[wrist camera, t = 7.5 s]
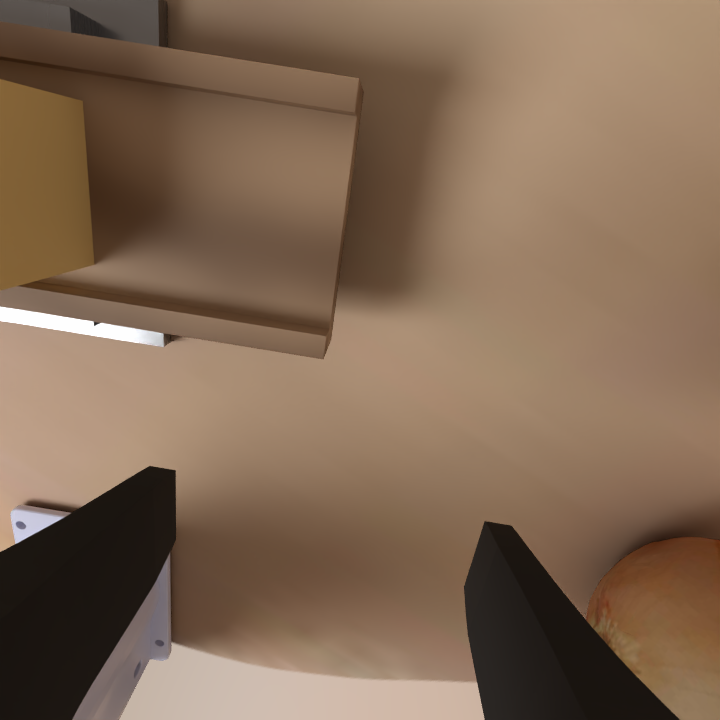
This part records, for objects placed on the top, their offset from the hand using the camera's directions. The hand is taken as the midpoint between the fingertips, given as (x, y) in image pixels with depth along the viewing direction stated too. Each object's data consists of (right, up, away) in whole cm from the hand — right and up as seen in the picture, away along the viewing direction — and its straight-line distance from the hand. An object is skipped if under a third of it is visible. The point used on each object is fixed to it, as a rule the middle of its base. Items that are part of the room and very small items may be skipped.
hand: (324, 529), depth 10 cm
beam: (-11, +10, +5) cm, 15 cm away
